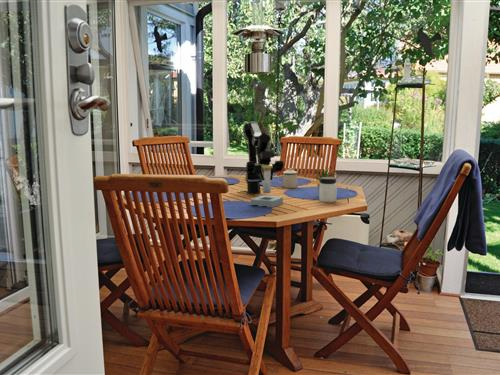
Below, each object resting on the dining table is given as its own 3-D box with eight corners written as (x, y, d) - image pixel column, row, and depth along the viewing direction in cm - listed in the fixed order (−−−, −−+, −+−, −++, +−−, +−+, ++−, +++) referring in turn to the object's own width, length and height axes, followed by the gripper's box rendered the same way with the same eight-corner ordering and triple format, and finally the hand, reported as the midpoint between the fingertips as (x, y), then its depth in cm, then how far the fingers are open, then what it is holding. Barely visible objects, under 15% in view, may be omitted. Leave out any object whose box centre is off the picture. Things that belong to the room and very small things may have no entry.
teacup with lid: (296, 185, 296) (296, 167, 294) (298, 188, 287) (298, 168, 285) (277, 186, 295) (277, 167, 293) (278, 188, 286) (278, 169, 284)
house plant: (326, 199, 250) (327, 168, 248) (305, 196, 260) (305, 166, 257) (341, 195, 261) (341, 165, 258) (320, 192, 270) (320, 164, 267)
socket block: (250, 205, 237) (250, 199, 236) (261, 201, 247) (261, 195, 247) (272, 207, 231) (272, 201, 231) (282, 203, 241) (282, 197, 241)
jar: (317, 201, 244) (317, 178, 242) (320, 198, 252) (321, 176, 250) (334, 202, 241) (335, 179, 239) (337, 199, 249) (338, 177, 247)
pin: (258, 192, 239) (258, 164, 236) (267, 191, 242) (267, 163, 240) (265, 194, 235) (265, 165, 232) (274, 192, 238) (274, 164, 235)
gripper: (246, 145, 237) (250, 170, 228) (283, 144, 240) (288, 169, 231) (243, 159, 246) (248, 184, 237) (279, 158, 249) (284, 182, 240)
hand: (267, 179), depth 236 cm, fingers closed on pin, 4 cm apart
